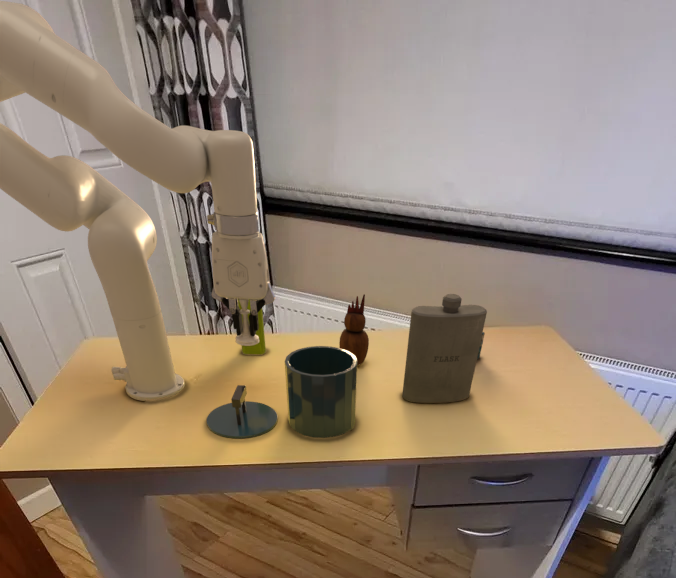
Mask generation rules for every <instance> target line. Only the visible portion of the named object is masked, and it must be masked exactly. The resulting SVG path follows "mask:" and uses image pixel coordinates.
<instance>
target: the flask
mask: <svg viewBox="0 0 676 578" xmlns="http://www.w3.org/2000/svg"><path fill="white" fill-rule="evenodd" d="M461 297H462V296H460V295H459V294H455V293H448V294H445V295H444V296H443V297H442V302H441V306H438V305H437V306H435V305H434V306H433V305H418V306H416V307H413V308H412V309H411V311H410V312H411V313H410V321H409V329H408V330H409V331H408V338H407V347H406V356H405V367H404V376H403V383H402V384H403V386H402V393H401V396H402V398H403V400H404V401H407V402H411V403H416V404H417V403H418V404H445V403H447V404H448V403H455V402H461V401H464V400H467V399H469V397H470V395H471V390H472V384H473V380H474V375H475V370H476V366H477V361H478V359H477V357H478V352H479V347H480V342H481V338H482V333H483V332H484V328H485V323H486V318H487V313H488V310H487V309H486V308H485V307H483V306H481V305H478V304H464V305H463V304H462V300H463V299H462V298H461Z"/></svg>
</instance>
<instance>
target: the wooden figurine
mask: <svg viewBox="0 0 676 578" xmlns="http://www.w3.org/2000/svg"><path fill="white" fill-rule="evenodd" d="M365 300H366V294H365V293H364V294H363V295H362V298H361V301H360V303H359V296H358V295H356V298H355V301H354V300H352V301H351V304H348V305H347V311H346V313H345V315H344V319H343V323H344V324H343V325H344V329H343V331H341V333H340V337H339V343H338V344H339V345H338V348H341V349H344V350H347V351H349V352H350V353H352V354H353V355H355V357H356V358H357V366H361V365H363V363H364V362H365V360H366V358H367V356H368V351H369V344H370V342H369V341H370V337H369V335H368V333H367V332H366V330H364V329H365V327H366V324H367V323H366V322H367V321H366V320H367V319H366V316H365V314H364V313H365Z"/></svg>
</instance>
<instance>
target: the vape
mask: <svg viewBox="0 0 676 578" xmlns="http://www.w3.org/2000/svg"><path fill="white" fill-rule="evenodd" d="M238 307H239V309H240V310H241V309H242V307H241V304H240V302H239V299H238ZM247 309H248V310H250V311H251V306H250V299H249V302H248V306H247ZM247 315H248V321H249V315H250V313H249V314H247ZM258 322H259V330H258V331H256V335H257V336H258V337H259V343H258V344H256V345H252V346H243V345H241V352H242V354H243V355H245V356H263V355H265V354H266V353H267V349H266V347H267V346H266V337H265V325H264V315H263V308H262V309H261V310H260V311H259V312H258ZM242 323H243V314H242ZM249 326H250V324H249Z"/></svg>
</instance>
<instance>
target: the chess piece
mask: <svg viewBox="0 0 676 578" xmlns="http://www.w3.org/2000/svg"><path fill="white" fill-rule="evenodd" d="M239 302H240V304H241V307H242V309H241V310H240V313H241V314H243V330H242V333H241V335H240V336H239V335H237V334H236V336H235V343H236V344H237V345H239V346H242V345H243V346H252V345H256V344H258V343H259V337H258V336H257V335H256V334H255V336H251V335H250V326H249V321H248V315H247V314H249V313H250V310H248V309H247V306H248V302H249V299H239Z"/></svg>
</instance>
